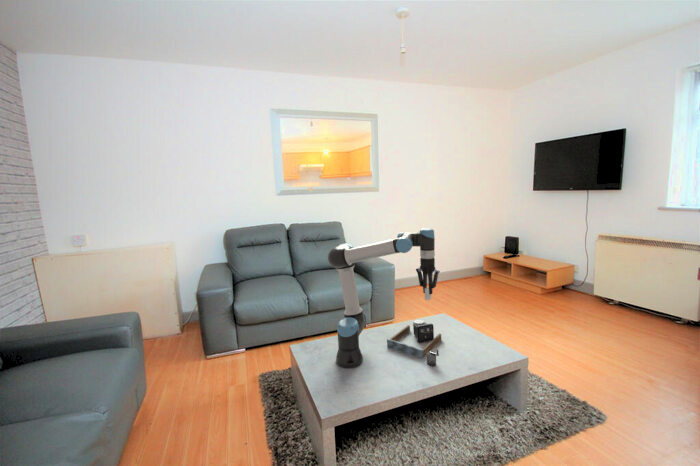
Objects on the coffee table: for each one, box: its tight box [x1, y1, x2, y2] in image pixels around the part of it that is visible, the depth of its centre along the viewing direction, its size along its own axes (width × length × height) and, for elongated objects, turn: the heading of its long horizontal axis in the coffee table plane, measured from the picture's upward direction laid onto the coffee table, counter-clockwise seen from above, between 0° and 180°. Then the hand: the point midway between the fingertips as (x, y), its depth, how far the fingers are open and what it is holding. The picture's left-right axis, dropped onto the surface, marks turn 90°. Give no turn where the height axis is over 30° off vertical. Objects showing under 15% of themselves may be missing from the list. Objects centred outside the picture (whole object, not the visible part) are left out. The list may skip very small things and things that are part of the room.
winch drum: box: [426, 349, 440, 367], centre depth 170 cm, size 6×5×9 cm
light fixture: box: [412, 319, 435, 344], centre depth 200 cm, size 11×13×11 cm
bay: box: [386, 324, 442, 359], centre depth 194 cm, size 23×26×5 cm
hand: (427, 299), depth 173 cm, fingers closed
